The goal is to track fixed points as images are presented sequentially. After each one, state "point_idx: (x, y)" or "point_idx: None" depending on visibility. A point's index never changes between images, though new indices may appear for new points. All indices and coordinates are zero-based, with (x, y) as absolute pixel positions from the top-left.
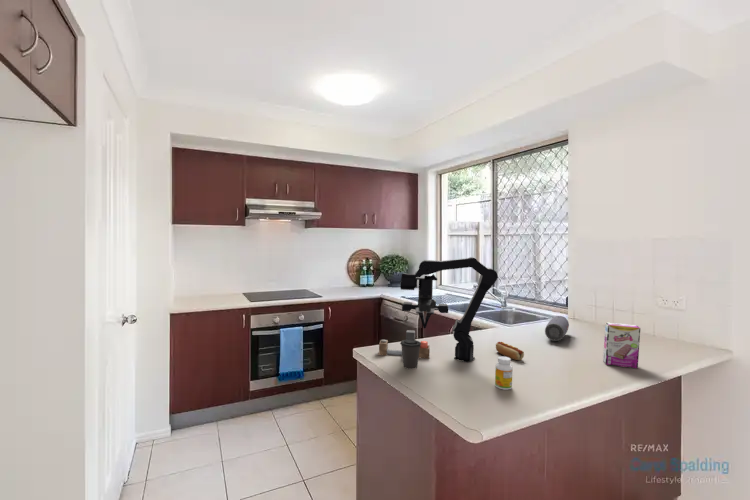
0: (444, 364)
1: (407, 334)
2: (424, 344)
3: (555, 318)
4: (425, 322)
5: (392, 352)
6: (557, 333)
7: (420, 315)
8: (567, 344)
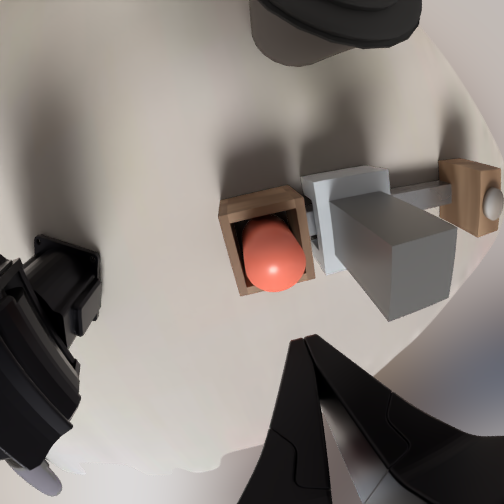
0: (117, 148)
1: (435, 223)
2: (265, 234)
3: (34, 486)
4: (311, 394)
5: (425, 185)
6: None
7: (469, 450)
8: None
